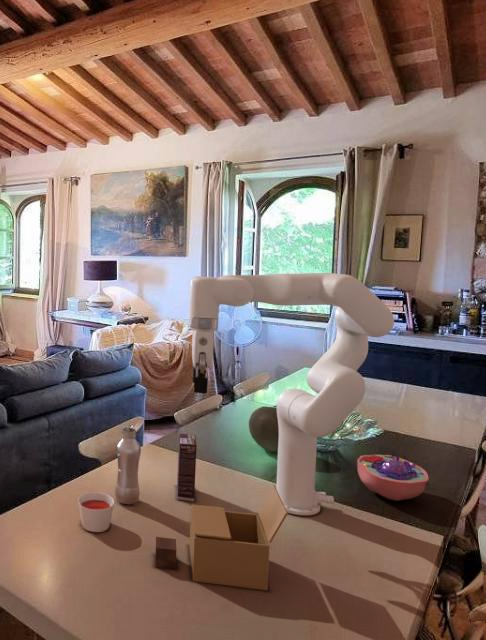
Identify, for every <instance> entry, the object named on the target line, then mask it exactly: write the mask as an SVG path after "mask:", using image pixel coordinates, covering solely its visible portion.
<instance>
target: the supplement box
mask: <svg viewBox="0 0 486 640" xmlns="http://www.w3.org/2000/svg"><path fill="white" fill-rule="evenodd" d="M197 447H198V444H197V437H196V434H190V433H179V435H178V455H177V456H178V458H177V459H178V460H177V478H176V482H177V483H176V497H177V498H176V499H177V500H179V501H187V502H195V493H196V471H197V469H196V468H197V466H196V465H197Z"/></svg>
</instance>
